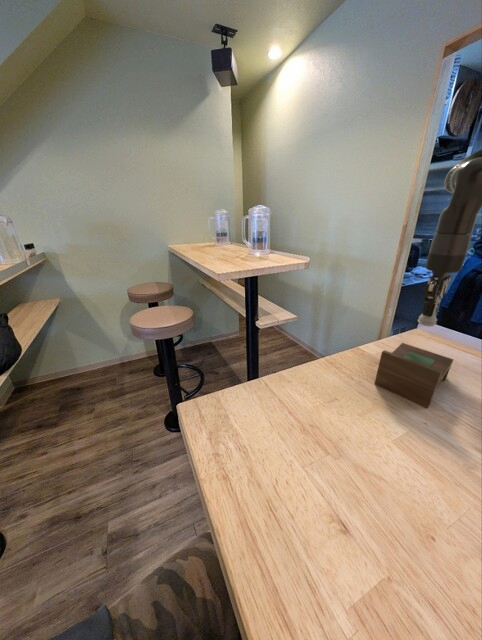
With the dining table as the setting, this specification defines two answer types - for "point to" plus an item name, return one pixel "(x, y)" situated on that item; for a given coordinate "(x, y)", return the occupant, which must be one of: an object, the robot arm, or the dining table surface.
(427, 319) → the rook chess piece
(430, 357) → the wooden stand
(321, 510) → the dining table surface
